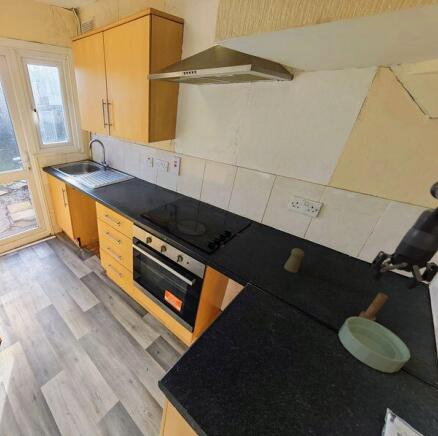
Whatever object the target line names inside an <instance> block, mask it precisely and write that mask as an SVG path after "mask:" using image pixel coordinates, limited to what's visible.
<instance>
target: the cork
mask: <svg viewBox="0 0 438 436" xmlns="http://www.w3.org/2000/svg"><path fill="white" fill-rule="evenodd" d="M305 255H306V253H305V251H304V250H303V249H301V248H299V247H295V248H294V247H293V248H292V249H291V255H290V256H289V258H288V259H287V261H286V262H285V264H284V265H283V268H284V269H285V270H286V271H288V272H289V273H292V274H293V273H294V274H295V273H298V272H299V269H300V265H301V262H302V258H304V257H305Z"/></svg>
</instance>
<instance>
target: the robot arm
mask: <svg viewBox="0 0 438 436" xmlns="http://www.w3.org/2000/svg"><path fill="white" fill-rule="evenodd" d="M429 193H430V195H431V197H433V198H434V199H435V200H437V201H438V180H437V181H436V182H434V183H433V184H432V185H431V187H430V189H429ZM437 252H438V206H436V207H435V208H427V209H424V210H423V211H422V212H421V213H420V214H419V216H418V217H417V218H416V220H415V221H414V223H413V224H412V226H411V227H410V228H408V230H407V231H406V232H405V234H404V235H403V237H402V238H401V240H400V242H399V243H398V245H397V246H396V248H395V250H394V252H393V253H391V254H389V253H387V252H385V251H383V250H380V251H379V252H378V253H377V255H376V256H375V257H374V259H373V260H372V261H371V263H370V265H371V266H372V268H373V269H374V272H373V273H372V278H373V280H374V281H376V282H379V281H380V279H382V277H383V276H384V274H385V272H388V271H394V270H396V271H397V270H398V271H404V272H406V273H411V275H412V276H410V278H409V279H407V281H406V282H405V284H404V286H405V288H406V289H407V290H413V289H415V288H416V287H417V286H418V285H419V284H420V283H422V282H426V283H431V282H432V281H433V280H434V278H435V277H436V275H437V274H438V264H437V263H436V262H434V261H431V260H432V259H433V258H434V256H435V255H436V254H437ZM430 261H431V262H430ZM424 268H425V269H424ZM422 269H424V271H423V272H422V273H421V271H420V270H422Z"/></svg>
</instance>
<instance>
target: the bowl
mask: <svg viewBox="0 0 438 436" xmlns="http://www.w3.org/2000/svg"><path fill="white" fill-rule="evenodd" d="M338 339H339V340H340V342H341V344H342V345H343V347H344V348H345V350H347V351H348V352H349V353H350V354H351V355H352V356H353V357H354V358H356V360H359V361H360V362H361V363H363V364H365V365H366V366H368V367H370V368H372V369H375V370H377V371H379V372H380V371H381V372H383V373H389V374H392V373H396V372H398V371H400V369H401V368H402V367H403V366H404V365H405V364H406V363H407V362H409V360H410V358H411V352H410V349H409V348H408V346H407V344H406V343H405V342H404V341H403V340H402V339H401V338H400V337H399V336H398V335H396V334H395V333H394V332H393V331H391V330H390V329H388V328H387V327H385V326H384V325H382V324H380V323H378V322H375V321H372V320H369V319H365V318H362V317H358V316H349V317H348V318H346V320H345V321H344V323H343V324H342V326H341V327H340V328H339V330H338Z"/></svg>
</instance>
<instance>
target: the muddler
mask: <svg viewBox="0 0 438 436" xmlns="http://www.w3.org/2000/svg"><path fill="white" fill-rule="evenodd" d="M388 299H389V296H388V295H387V294H385V293H382V292H378V294H377V295H376V296H375V298H374V299H373V300H372V302H371V303H370V305H369V306H368V308H367V309H366V310H362V311H361V312H360V313H359V315H358V316H357V317H362V318H365V319H369V320H372V321H374V322H375V321H376V320H377V318H376V314H377V313H378V312H379V310H380V309H381V308H382V307H383V305H384V304H385V303H386V301H387V300H388Z"/></svg>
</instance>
